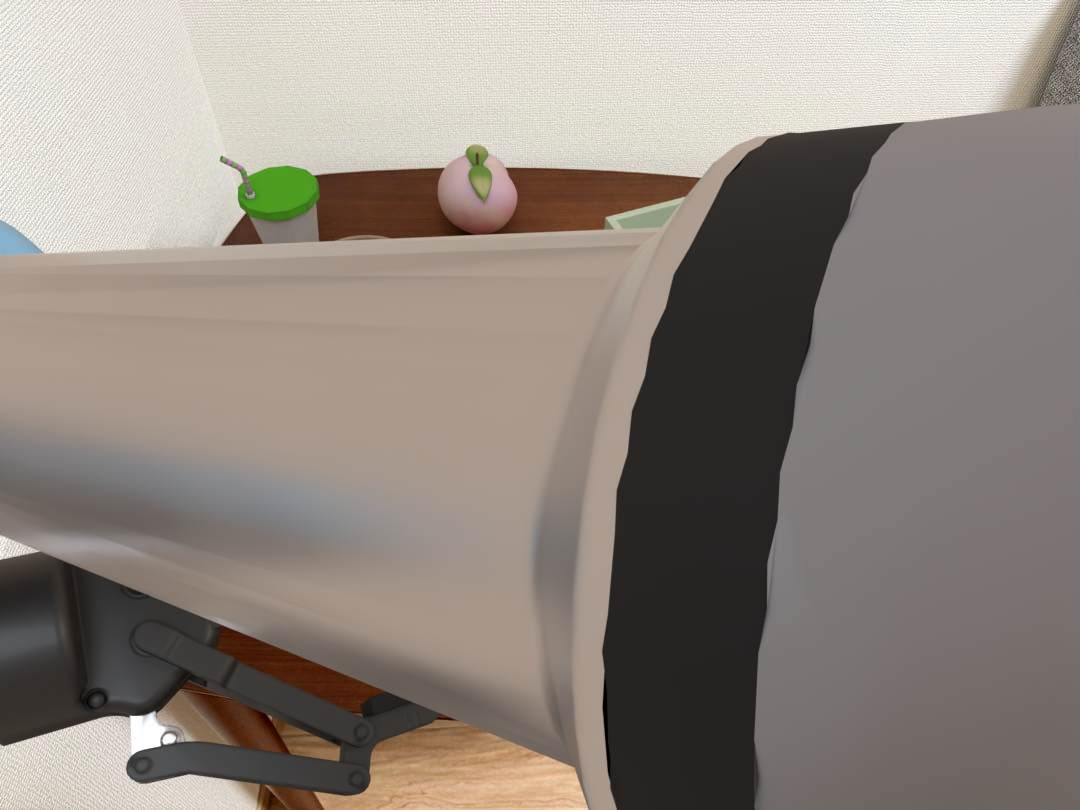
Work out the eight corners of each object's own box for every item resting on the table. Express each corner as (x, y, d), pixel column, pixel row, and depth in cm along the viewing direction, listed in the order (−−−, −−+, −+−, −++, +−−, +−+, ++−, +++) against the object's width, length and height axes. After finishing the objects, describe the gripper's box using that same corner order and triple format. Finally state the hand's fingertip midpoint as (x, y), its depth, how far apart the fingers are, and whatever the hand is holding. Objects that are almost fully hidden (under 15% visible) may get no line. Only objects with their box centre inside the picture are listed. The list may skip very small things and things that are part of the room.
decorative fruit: (433, 212, 95) (425, 135, 87) (501, 200, 96) (499, 123, 89) (452, 264, 89) (445, 186, 81) (524, 250, 90) (524, 172, 83)
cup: (345, 249, 90) (318, 126, 79) (326, 297, 85) (295, 173, 74) (275, 243, 91) (239, 120, 79) (252, 291, 86) (210, 167, 74)
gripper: (-31, 422, 41) (380, 365, 50) (27, 981, 33) (505, 788, 42) (-74, 350, 35) (405, 300, 44) (-15, 1018, 27) (557, 782, 36)
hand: (455, 539), depth 43 cm, fingers open, 13 cm apart
